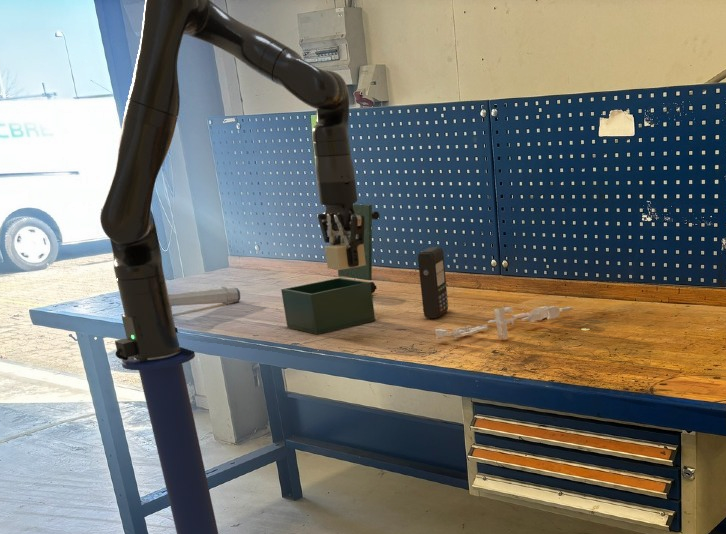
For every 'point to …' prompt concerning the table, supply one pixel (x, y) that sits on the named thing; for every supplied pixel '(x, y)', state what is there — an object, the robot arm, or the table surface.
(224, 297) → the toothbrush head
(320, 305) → the bin
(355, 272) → the bin lid
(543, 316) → the grey elongated piece
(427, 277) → the card reader
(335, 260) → the beige rectangular block
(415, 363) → the table surface
